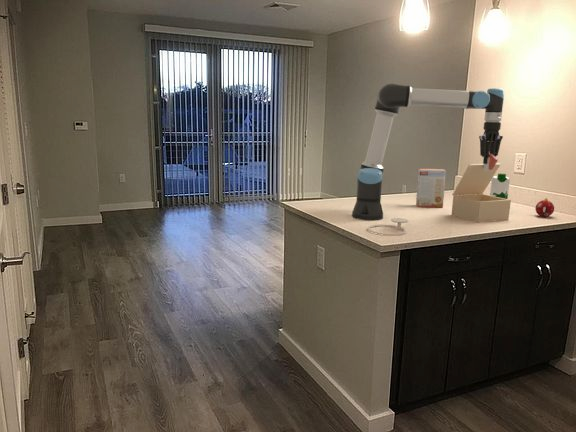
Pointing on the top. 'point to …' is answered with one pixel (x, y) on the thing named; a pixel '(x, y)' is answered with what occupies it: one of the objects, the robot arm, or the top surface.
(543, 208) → the christmas ornament
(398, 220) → the hand towel holder
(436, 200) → the cracker box
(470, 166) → the lid flap
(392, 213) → the top surface
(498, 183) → the milk carton
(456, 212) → the carton
